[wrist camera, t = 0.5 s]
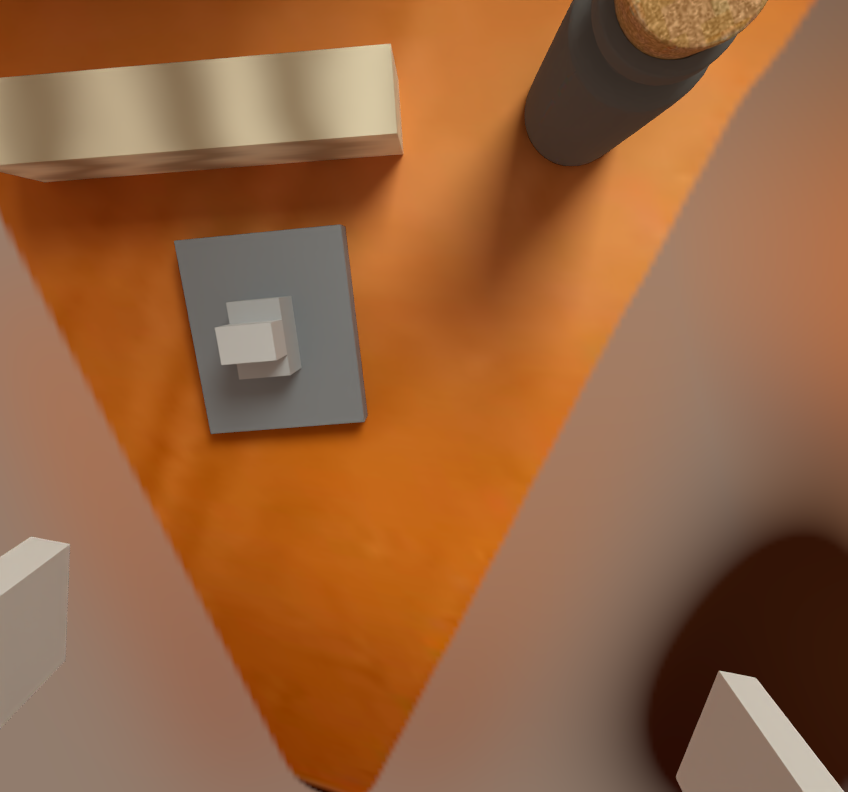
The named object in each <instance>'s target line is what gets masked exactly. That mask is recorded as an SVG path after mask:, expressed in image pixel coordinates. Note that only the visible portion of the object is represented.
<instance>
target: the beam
mask: <svg viewBox="0 0 848 792" xmlns="http://www.w3.org/2000/svg"><path fill="white" fill-rule="evenodd" d="M400 154H403V141H402V127H401V112H400V98H399V84H398V76H397V71H396V66H395V62H394V57H393V52H392V47H391V44H381V45H370V46H359V47H347V48H336V49H324V50H313V51H301V52H290V53H278V54H267V55H255V56H244V57H232V58H221V59H209V60H198V61H187V62H175V63H164V64H152V65H141V66H129V67H118V68H106V69H95V70H83V71H72V72H60V73H49V74H38V75H26V76H15V77H3V78H0V172H3V173H7V174H11V175H16V176H20V177H24V178H28V179H33V180H37V181H41V182H54V181H67V180H80V179H93V178H105V177H118V176H131V175H144V174H157V173H169V172H182V171H195V170H208V169H221V168H234V167H246V166H259V165H272V164H285V163H298V162H310V161H323V160H336V159H349V158H362V157H375V156H387V155H400Z"/></svg>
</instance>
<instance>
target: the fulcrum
mask: <svg viewBox="0 0 848 792" xmlns="http://www.w3.org/2000/svg"><path fill="white" fill-rule="evenodd" d="M174 244H175V249H176V254H177V259H178V265H179V270H180V275H181V280H182V286H183V291H184V296H185V301H186V306H187V312H188V317H189V322H190V327H191V333H192V338H193V343H194V348H195V354H196V359H197V364H198V369H199V374H200V380H201V385H202V390H203V395H204V401H205V406H206V411H207V416H208V422H209V427H210V432H211V434H216V433H229V432H241V431H254V430H267V429H279V428H292V427H305V426H318V425H330V424H343V423H356V422H365V420H366V418H367V416H368V415H367V407H366V398H365V390H364V381H363V373H362V364H361V356H360V347H359V339H358V331H357V322H356V314H355V305H354V297H353V288H352V280H351V272H350V263H349V255H348V246H347V238H346V229H345V226H343V225H330V226H320V227H310V228H300V229H289V230H279V231H269V232H259V233H249V234H238V235H228V236H218V237H208V238H197V239H187V240H177V241H174Z"/></svg>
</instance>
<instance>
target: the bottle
mask: <svg viewBox="0 0 848 792" xmlns="http://www.w3.org/2000/svg"><path fill="white" fill-rule="evenodd" d="M767 1H768V0H573V1H572V3H571V5H570V7H569V9H568V11H567V13H566V15H565V17H564V19H563V21H562V23H561V25H560V27H559V29H558V31H557V33H556V35H555V37H554V40H553V42H552V44H551V46H550V48H549V50H548V52H547V54H546V56H545V58H544V60H543V62H542V64H541V66H540V68H539V71H538V73H537V75H536V77H535V79H534V81H533V84H532V86H531V88H530V90H529V93H528V97H527V100H526V105H525V125H526V130H527V133H528V136H529V138H530V140H531V143H532V144H533V146H534V147H535V148H536V150H537V151H538V152H539V153H540V154H541V155H542V156H544V157H545V158H546V159H548V160H550V161H552V162H554V163H556V164H560V165H564V166H579V165H583V164H587V163H590V162H592V161H594V160H596V159H598V158H600V157H601V156H603V155H604V154H606V153H607V152H608V151H610V150H611V149H613V148H614V147H615V146H617V145H618V144H620V143H621V142H622V141H624V140H625V139H627V138H628V137H629V136H631V135H632V134H634V133H635V132H636V131H638V130H639V129H641V128H642V127H643V126H645V125H646V124H647V123H649V122H650V121H651V120H653V119H654V118H656V117H657V116H658V115H660V114H661V113H662V112H664V111H665V110H666V109H668V108H669V107H670V106H672V105H673V104H674V103H676V102H677V101H678V100H679V99H681V98H682V97H683V96H684V95H685V94H686V93H688V92H689V91H690V90H691V89H692V88H693V87H694V86H695V84H696V83H697V82H698V81H699V80H700V78H701V77H702V76H703V75H704V73H705V71H706V70H707V68H708V66H709V65H710V64H711V63H712V62H713V61H715V60H716V59H717V58H718V57H719V56H720V55H721V54H722V53H723V52H724V51H725V50H726V49H727V48H728V47H729V45H730V44H731V43H732V41H733V40H734V39H735V37H736V36H737V34H738V33H740V32H741V31H743V30H744V29H745V28H746V27H747V26H748V25H749V24H750V23H751V22H752V21H753V20H754V19H755V18H756V17H757V15H758V14H759V13H760V12H761V10H762V9H763V7H764V6H765V4H766V2H767Z"/></svg>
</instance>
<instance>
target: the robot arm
mask: <svg viewBox="0 0 848 792" xmlns="http://www.w3.org/2000/svg"><path fill="white" fill-rule="evenodd" d="M69 557H70V544H67V543H62V542H57V541H51V540H46V539H41V538H36V537H30V538H28V539H27V540H25V541H24V542H22V543H21V544H19V545H17V546H16V547H15V548H13V549H12V550H10V551H9V552H7V553H5V554H4V555H2V556H1V557H0V729H1V728H2V727H3V726H4V724H5V723H6V722H7V721H8V720H9V719H10V718H11V717H12V716H13V715H14V714H15V713H16V712H17V711H18V710H19V709H20V708H21V707H22V706H23V705H24V704H25V702H26V701H27V700H28V699H29V698H30V697H31V696H32V695H33V694H34V693H35V692H36V691H37V690H38V689H39V688H40V687H41V686H42V685H43V684H44V682H46V681H47V679H48V678H49V677H50V676H51V675H52V674H53V673H54V672H55V671H56V670H57V669H58V668H59V667H60V666H61V665H62V664H63V662H65V658H66V632H67V608H68V607H67V605H68V582H69ZM676 779H677V781H678V783H679V785H680V787H681V789H682V792H844V791H843V790H842V788H841V787H840V786H839V785H838V783H837V782H836V781H835V780H834V778H833V777H832V776H831V774H830V773H829V772H828V770H827V769H826V768H825V767H824V765H823V764H822V763H821V761H820V760H819V759H818V758H817V756H816V755H815V754H814V752H813V751H812V750H811V749H810V747H809V746H808V745H807V743H806V742H805V741H804V739H803V738H802V737H801V736H800V734H799V733H798V732H797V730H796V729H795V728H794V727H793V725H792V724H791V723H790V722H789V720H788V719H787V718H786V716H785V715H784V714H783V712H782V711H781V710H780V709H779V707H778V706H777V705H776V703H775V702H774V701H773V699H772V698H771V697H770V696H769V695H768V693H767V692H766V691H765V689H764V688H763V687H762V685H761V684H760V683H759V681H758V680H757V679H756V678H754V677H749V676H743V675H738V674H733V673H728V672H723V671H719V672H718V674H717V677H716V679H715V682H714V684H713V687H712V689H711V692H710V694H709V696H708V699H707V701H706V704H705V706H704V709H703V711H702V714H701V716H700V719H699V721H698V723H697V726H696V728H695V731H694V733H693V736H692V739H691V741H690V743H689V746H688V748H687V751H686V753H685V756H684V758H683V760H682V763H681V765H680V768H679V770H678V773H677V775H676Z"/></svg>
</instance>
